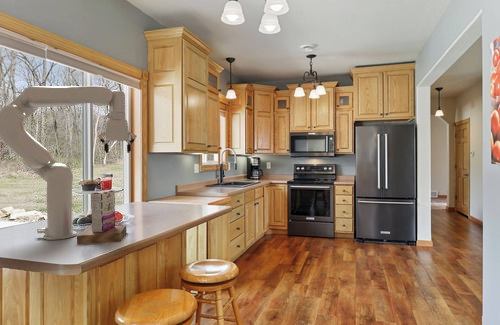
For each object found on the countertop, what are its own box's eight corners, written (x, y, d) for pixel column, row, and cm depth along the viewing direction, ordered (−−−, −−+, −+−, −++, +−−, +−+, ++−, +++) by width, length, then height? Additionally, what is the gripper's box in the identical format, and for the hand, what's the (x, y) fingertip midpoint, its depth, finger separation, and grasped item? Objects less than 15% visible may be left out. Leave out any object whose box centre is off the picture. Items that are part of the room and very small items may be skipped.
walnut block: (77, 245, 132) (76, 235, 131) (88, 236, 147) (88, 227, 147) (119, 243, 135) (119, 233, 135) (126, 234, 150) (126, 225, 150)
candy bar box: (104, 226, 147) (104, 189, 147) (115, 226, 147) (115, 189, 147) (90, 232, 136) (90, 192, 136) (102, 232, 136) (102, 192, 136)
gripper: (95, 115, 154) (96, 152, 154) (134, 116, 157) (135, 152, 157) (99, 117, 161) (100, 153, 161) (137, 118, 165) (137, 152, 165)
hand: (117, 152), depth 159 cm, fingers open, 9 cm apart
